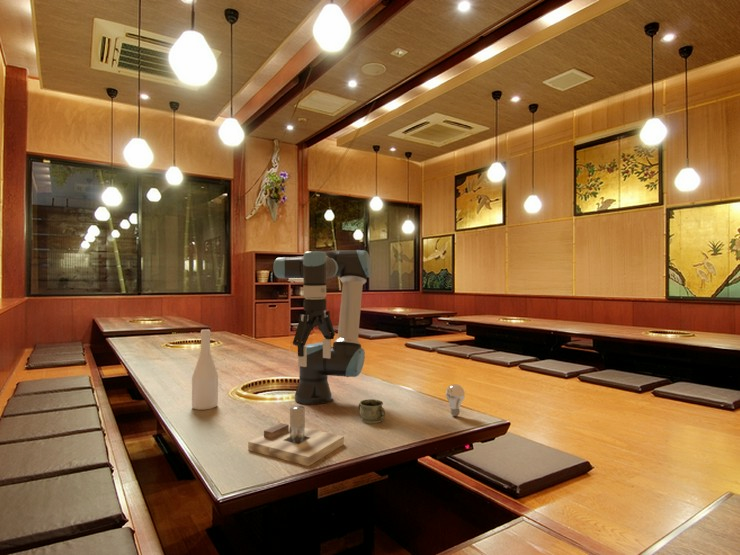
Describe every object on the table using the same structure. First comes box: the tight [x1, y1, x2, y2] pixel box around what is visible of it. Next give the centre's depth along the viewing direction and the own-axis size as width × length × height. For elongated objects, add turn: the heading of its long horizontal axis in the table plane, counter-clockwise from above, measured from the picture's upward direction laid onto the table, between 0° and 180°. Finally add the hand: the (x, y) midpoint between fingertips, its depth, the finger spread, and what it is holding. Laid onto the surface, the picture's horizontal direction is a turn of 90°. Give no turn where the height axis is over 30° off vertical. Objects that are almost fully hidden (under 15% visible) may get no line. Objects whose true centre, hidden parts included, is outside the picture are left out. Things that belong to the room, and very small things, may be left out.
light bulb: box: [445, 383, 465, 418], centre depth 165 cm, size 7×7×12 cm
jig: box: [247, 422, 345, 467], centre depth 134 cm, size 22×18×4 cm
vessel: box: [357, 398, 386, 424], centre depth 161 cm, size 12×9×6 cm
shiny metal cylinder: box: [289, 405, 306, 444], centre depth 134 cm, size 4×4×12 cm
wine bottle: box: [191, 329, 219, 411], centre depth 174 cm, size 10×10×30 cm
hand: (315, 362), depth 148 cm, fingers open, 13 cm apart
